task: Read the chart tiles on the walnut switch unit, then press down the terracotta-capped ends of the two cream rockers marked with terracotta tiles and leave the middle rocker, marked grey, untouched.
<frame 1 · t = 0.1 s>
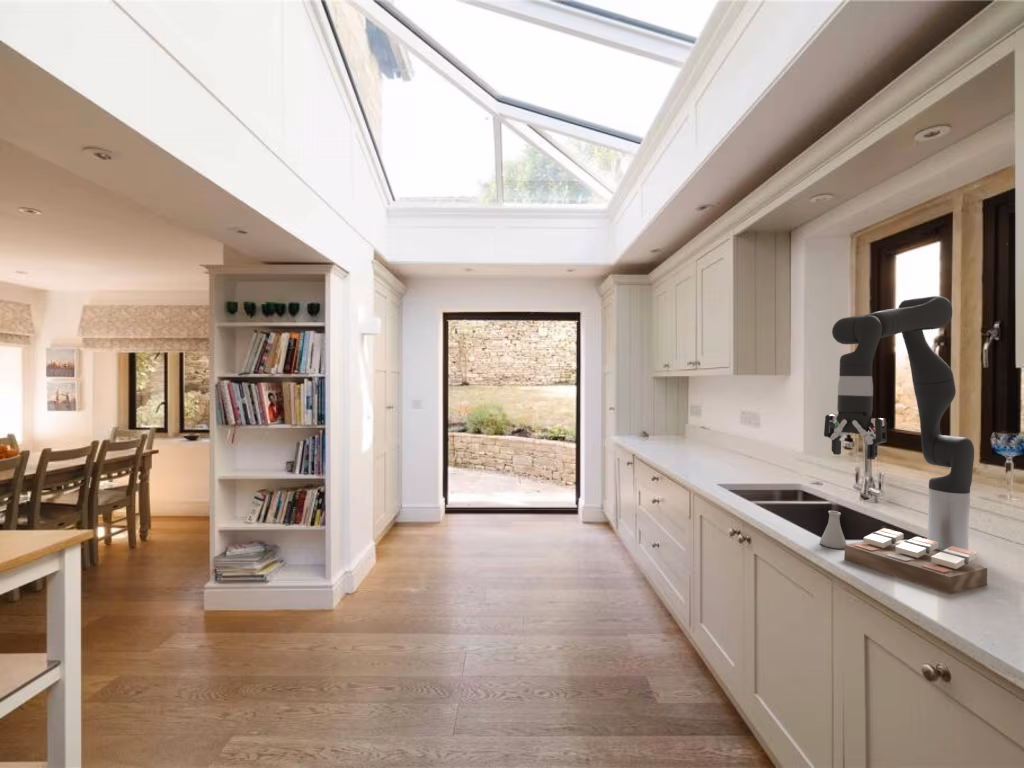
hand: (853, 456, 130), 29 cm above the worktop, tool pointing down, fingers open, 8 cm apart
switch unit: (911, 571, 130), on the worktop
rocker a: (883, 537, 138), point 6 cm above the worktop, hinge at 10.0°
rocker c: (953, 557, 123), point 6 cm above the worktop, hinge at 10.0°
rocker b: (916, 547, 131), point 6 cm above the worktop, hinge at 10.0°
flask: (833, 546, 150), on the worktop
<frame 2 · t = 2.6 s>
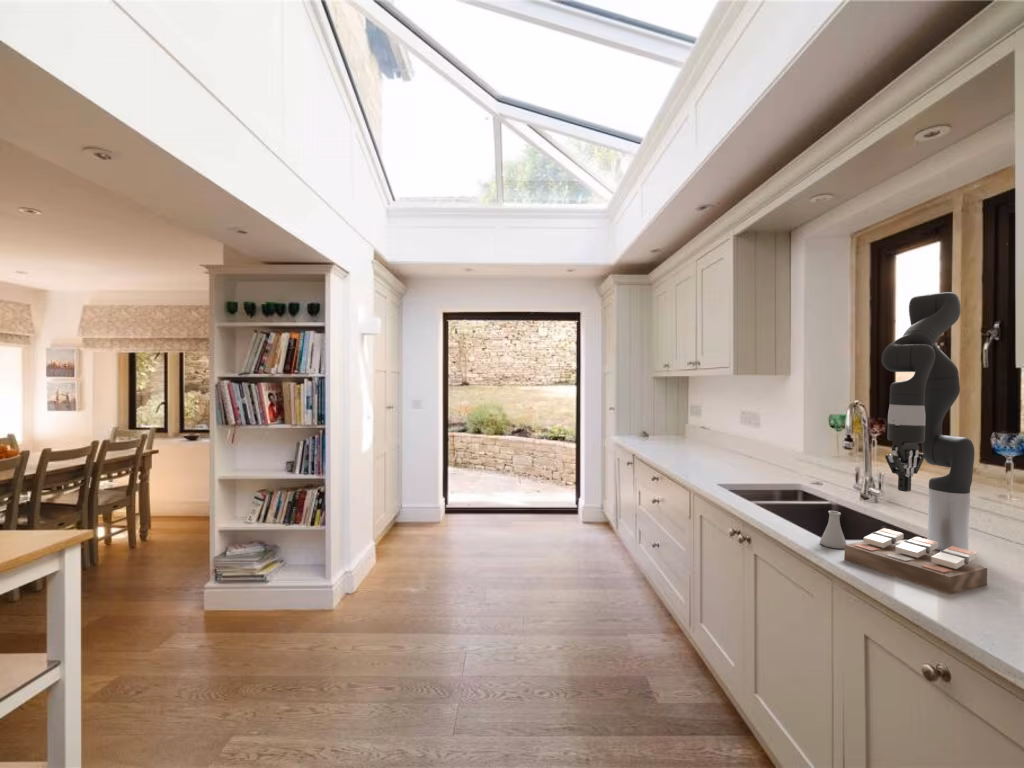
hand: (904, 490, 128), 21 cm above the worktop, tool pointing down, fingers closed
nothing on the worktop moved.
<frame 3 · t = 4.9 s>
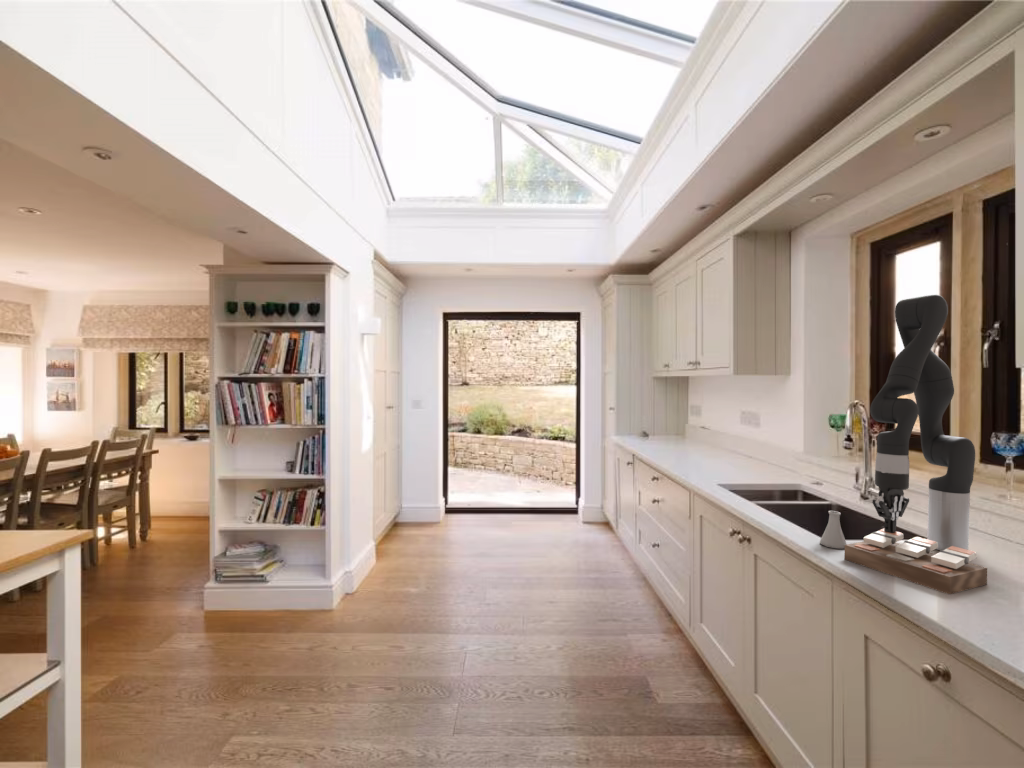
hand: (890, 532, 139), 7 cm above the worktop, tool pointing down, fingers closed
rocker a: (883, 537, 138), point 6 cm above the worktop, hinge at 9.6°, touching gripper
everything else where it was.
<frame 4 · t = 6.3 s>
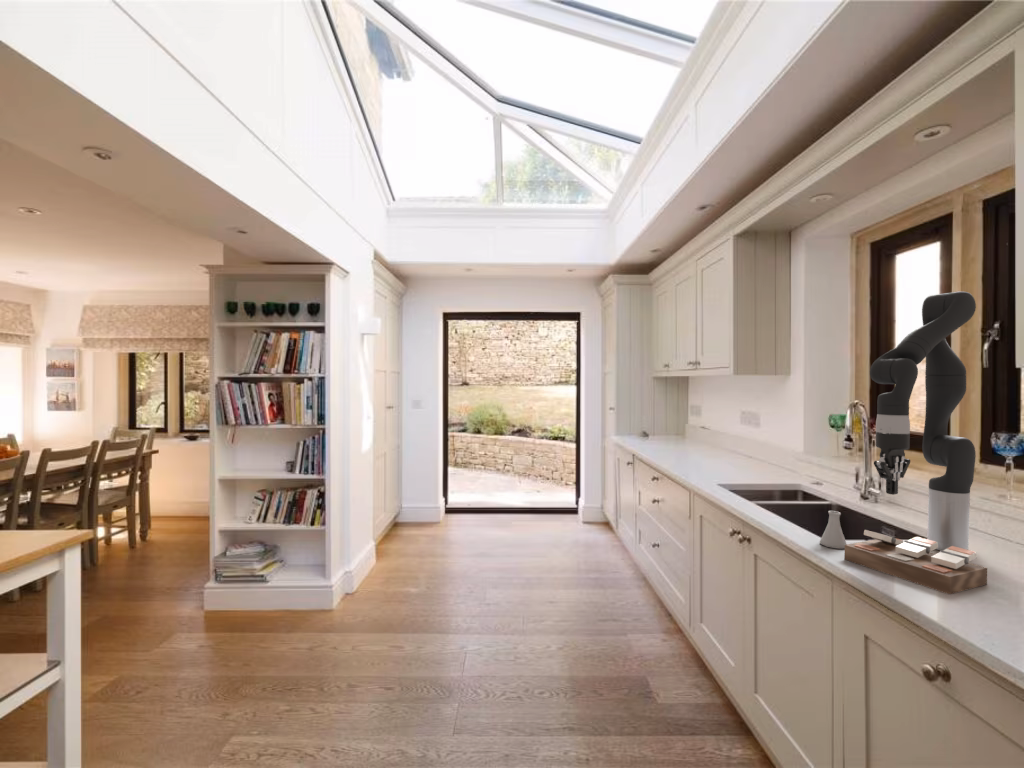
hand: (891, 493, 139), 18 cm above the worktop, tool pointing down, fingers closed
rocker a: (883, 537, 138), point 6 cm above the worktop, hinge at -17.0°
everything else where it was.
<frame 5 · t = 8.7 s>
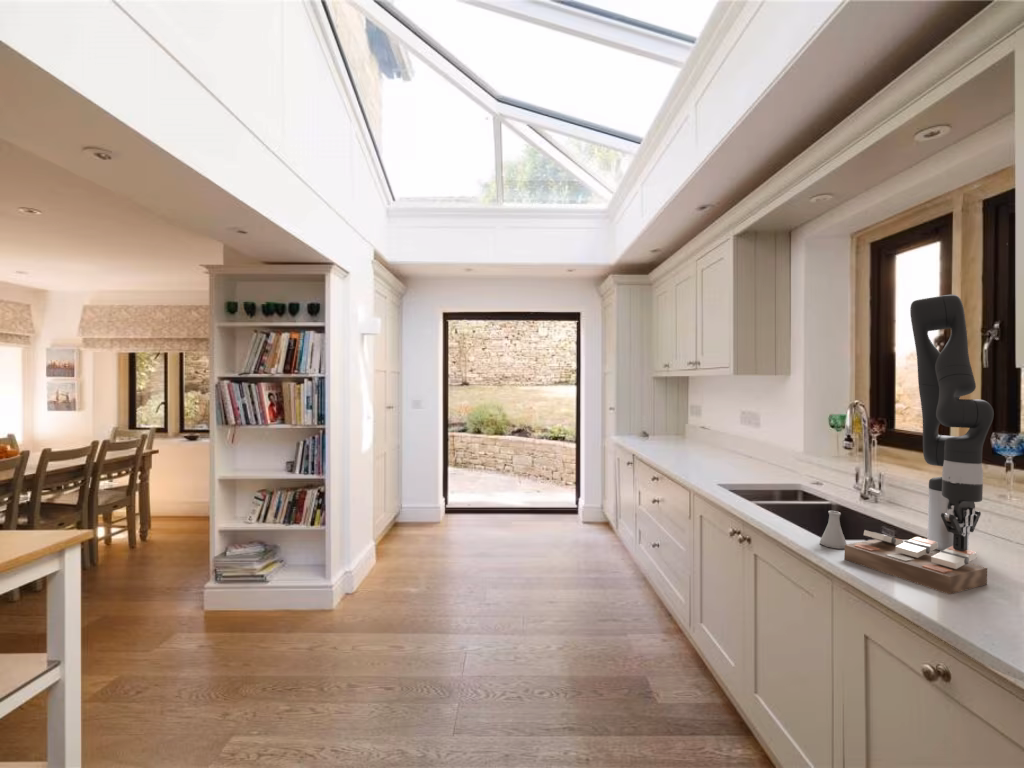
hand: (959, 549, 125), 7 cm above the worktop, tool pointing down, fingers closed
rocker a: (883, 537, 138), point 6 cm above the worktop, hinge at -15.6°
rocker c: (953, 557, 123), point 6 cm above the worktop, hinge at 10.0°, touching gripper
everything else where it was.
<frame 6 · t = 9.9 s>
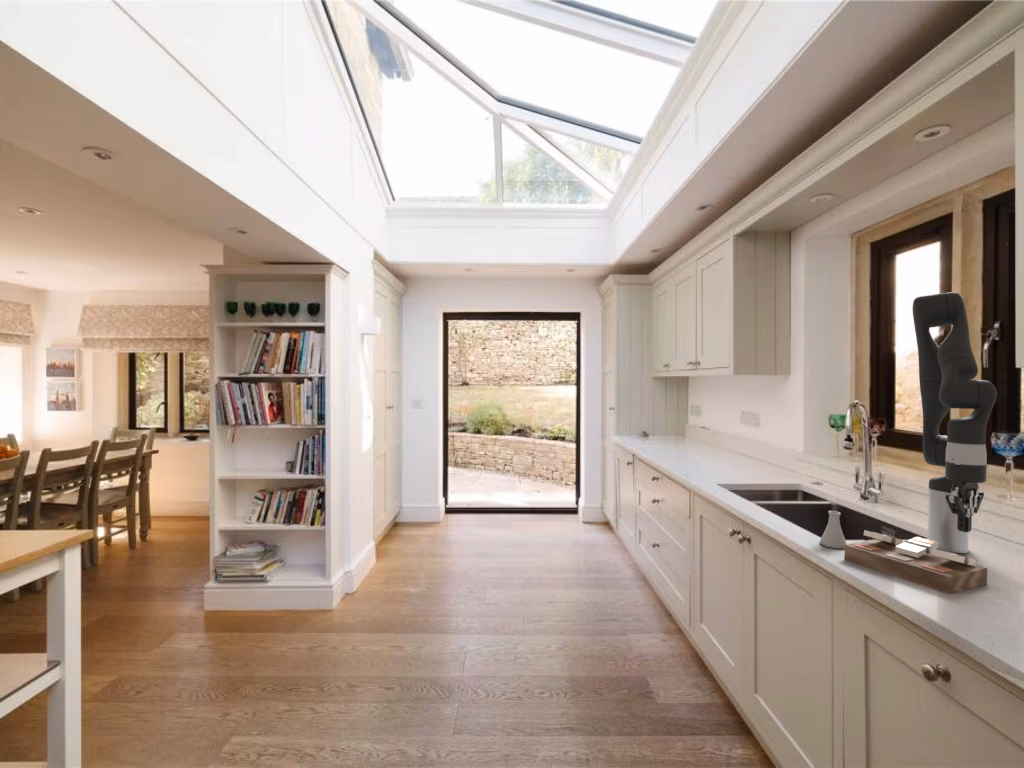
hand: (964, 531, 124), 12 cm above the worktop, tool pointing down, fingers closed
rocker c: (953, 557, 123), point 6 cm above the worktop, hinge at -14.3°
everything else where it was.
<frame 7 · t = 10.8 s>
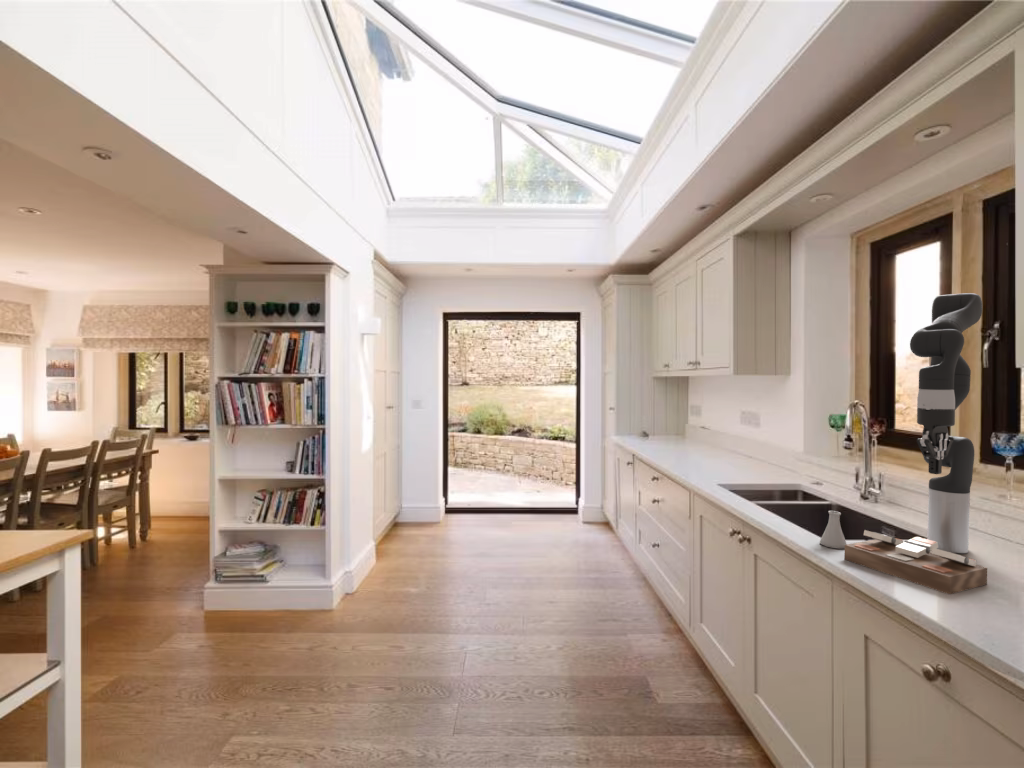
hand: (934, 473, 131), 25 cm above the worktop, tool pointing down, fingers closed
rocker c: (953, 557, 123), point 6 cm above the worktop, hinge at -17.5°, touching switch unit
everything else where it was.
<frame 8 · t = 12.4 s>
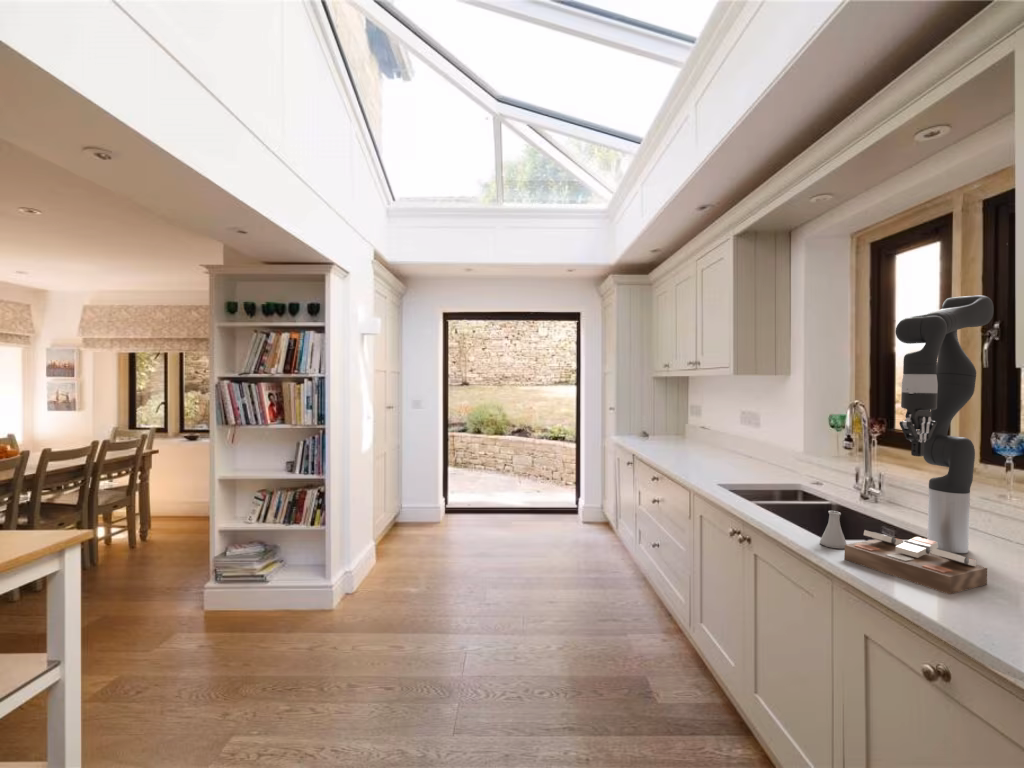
hand: (917, 455, 135), 29 cm above the worktop, tool pointing down, fingers closed
rocker c: (953, 557, 123), point 6 cm above the worktop, hinge at -17.0°
everything else where it was.
at the end: rocker a at -16° (first picture: +10°); rocker c at -17° (first picture: +10°); rocker b at +10° (first picture: +10°) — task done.
